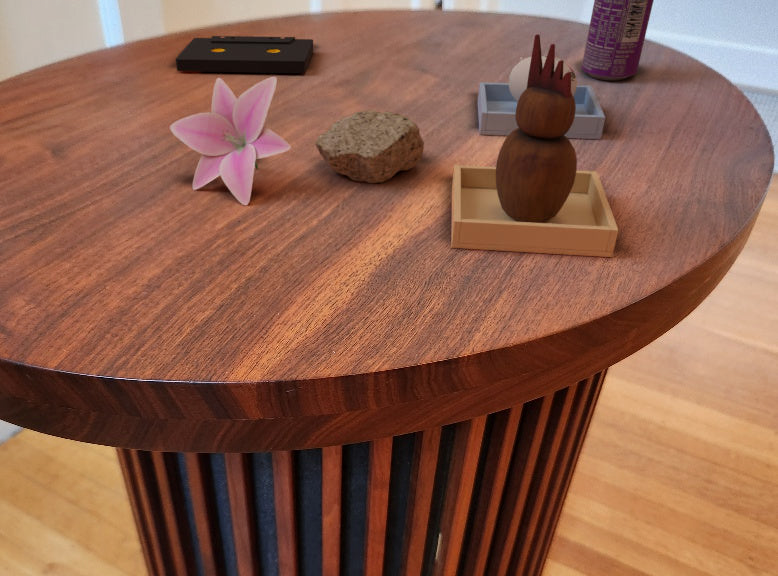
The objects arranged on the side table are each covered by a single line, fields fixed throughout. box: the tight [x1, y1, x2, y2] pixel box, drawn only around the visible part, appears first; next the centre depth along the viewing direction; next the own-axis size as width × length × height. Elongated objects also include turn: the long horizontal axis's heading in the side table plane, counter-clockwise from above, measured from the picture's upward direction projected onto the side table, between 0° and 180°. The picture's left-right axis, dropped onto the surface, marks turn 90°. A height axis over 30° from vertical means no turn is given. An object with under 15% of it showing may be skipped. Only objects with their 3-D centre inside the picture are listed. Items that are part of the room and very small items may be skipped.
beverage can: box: [581, 0, 655, 81], centre depth 101 cm, size 7×7×12 cm
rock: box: [314, 109, 425, 184], centre depth 77 cm, size 10×8×8 cm
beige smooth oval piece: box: [508, 54, 578, 102], centre depth 88 cm, size 8×6×7 cm
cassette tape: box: [175, 35, 314, 74], centre depth 111 cm, size 18×12×2 cm, turn 84°
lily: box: [169, 76, 292, 206], centre depth 75 cm, size 12×12×10 cm
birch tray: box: [450, 164, 619, 258], centre depth 69 cm, size 13×12×2 cm
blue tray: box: [477, 81, 606, 140], centre depth 90 cm, size 13×11×2 cm
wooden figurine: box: [495, 34, 578, 223], centre depth 65 cm, size 7×6×15 cm
